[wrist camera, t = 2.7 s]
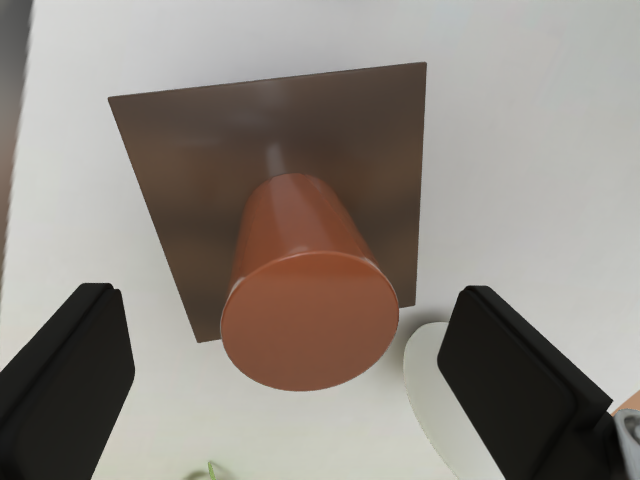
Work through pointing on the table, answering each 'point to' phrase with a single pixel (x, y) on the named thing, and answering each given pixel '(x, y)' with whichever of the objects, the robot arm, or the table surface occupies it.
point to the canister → (304, 290)
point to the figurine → (211, 471)
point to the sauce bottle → (443, 409)
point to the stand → (277, 166)
